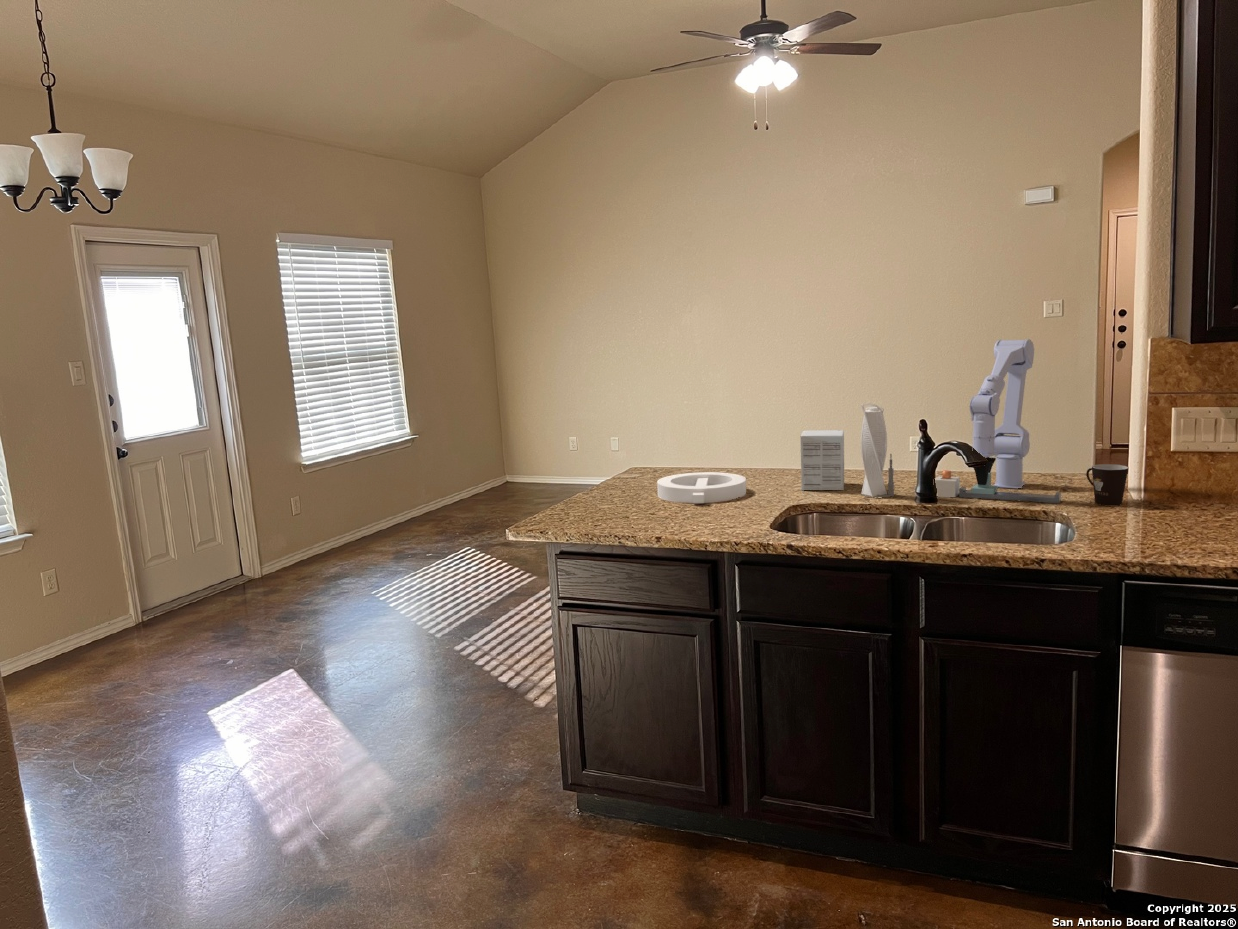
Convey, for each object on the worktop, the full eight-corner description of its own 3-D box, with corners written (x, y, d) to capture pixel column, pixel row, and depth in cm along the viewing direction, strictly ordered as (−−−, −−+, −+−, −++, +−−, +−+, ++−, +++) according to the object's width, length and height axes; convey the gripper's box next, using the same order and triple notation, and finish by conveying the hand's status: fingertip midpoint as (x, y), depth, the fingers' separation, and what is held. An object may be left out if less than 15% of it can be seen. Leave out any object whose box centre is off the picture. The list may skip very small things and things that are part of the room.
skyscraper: (872, 499, 256) (872, 404, 251) (854, 495, 263) (854, 402, 259) (895, 495, 259) (895, 402, 255) (877, 491, 267) (876, 400, 262)
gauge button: (943, 476, 258) (943, 470, 257) (951, 477, 256) (951, 470, 256) (941, 478, 256) (941, 471, 255) (950, 478, 254) (950, 472, 254)
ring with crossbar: (697, 508, 258) (697, 492, 257) (640, 495, 280) (639, 481, 280) (764, 493, 274) (764, 478, 274) (705, 483, 297) (704, 469, 296)
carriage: (975, 489, 255) (975, 470, 254) (997, 490, 252) (997, 472, 251) (971, 493, 250) (971, 474, 249) (993, 494, 247) (994, 475, 246)
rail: (962, 494, 256) (962, 486, 256) (1060, 500, 242) (1060, 492, 242) (959, 497, 253) (959, 488, 253) (1058, 503, 239) (1059, 494, 239)
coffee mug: (1131, 506, 231) (1133, 469, 230) (1096, 506, 233) (1097, 470, 232) (1116, 497, 243) (1117, 462, 241) (1082, 497, 244) (1083, 462, 243)
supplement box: (803, 483, 286) (802, 430, 283) (844, 483, 283) (844, 429, 280) (800, 491, 274) (799, 435, 271) (843, 491, 270) (843, 435, 267)
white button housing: (938, 492, 261) (938, 476, 260) (959, 493, 258) (959, 477, 257) (933, 496, 256) (933, 479, 255) (954, 497, 253) (955, 480, 252)
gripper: (994, 440, 240) (993, 489, 243) (1003, 433, 252) (1002, 480, 255) (967, 440, 244) (966, 487, 246) (977, 433, 256) (976, 478, 258)
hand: (982, 483), depth 251 cm, fingers closed on carriage, 2 cm apart
